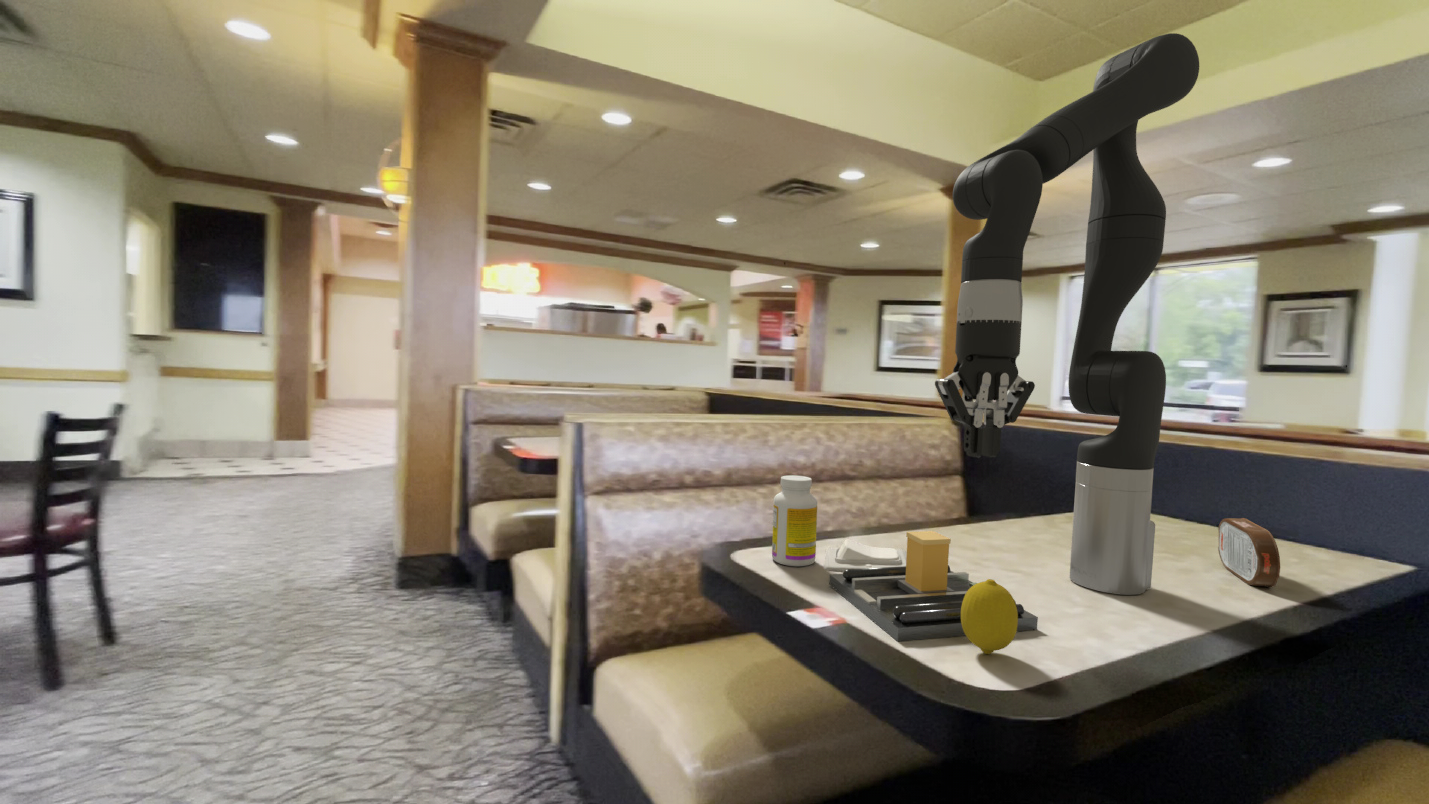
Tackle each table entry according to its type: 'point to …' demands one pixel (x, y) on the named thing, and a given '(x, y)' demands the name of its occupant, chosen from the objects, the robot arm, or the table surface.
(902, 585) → the lever
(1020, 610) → the panel
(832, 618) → the table surface
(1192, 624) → the table surface
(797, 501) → the supplement bottle
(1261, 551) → the tin
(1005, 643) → the lemon
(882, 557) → the light switch
